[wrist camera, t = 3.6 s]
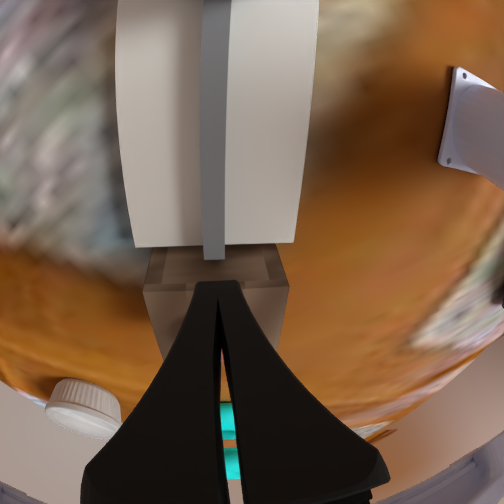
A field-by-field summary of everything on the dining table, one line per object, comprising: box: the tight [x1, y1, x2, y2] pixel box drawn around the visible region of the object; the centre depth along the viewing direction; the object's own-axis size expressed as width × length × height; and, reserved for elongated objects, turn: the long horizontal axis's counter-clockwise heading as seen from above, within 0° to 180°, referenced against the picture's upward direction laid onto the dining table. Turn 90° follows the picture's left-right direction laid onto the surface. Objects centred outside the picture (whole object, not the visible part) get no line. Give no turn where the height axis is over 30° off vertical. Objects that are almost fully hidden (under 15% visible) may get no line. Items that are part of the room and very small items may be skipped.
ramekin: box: [45, 378, 121, 440], centre depth 29 cm, size 11×11×5 cm
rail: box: [115, 0, 319, 260], centre depth 11 cm, size 10×22×3 cm, turn 177°
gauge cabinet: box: [142, 243, 289, 361], centre depth 19 cm, size 8×7×5 cm
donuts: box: [220, 403, 240, 479], centre depth 32 cm, size 10×10×10 cm
